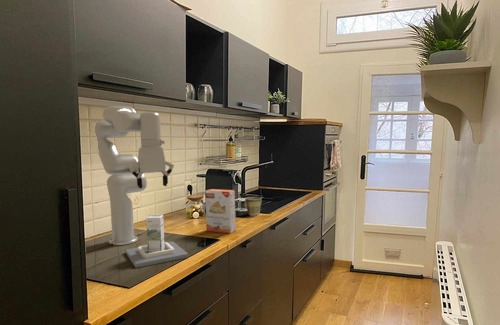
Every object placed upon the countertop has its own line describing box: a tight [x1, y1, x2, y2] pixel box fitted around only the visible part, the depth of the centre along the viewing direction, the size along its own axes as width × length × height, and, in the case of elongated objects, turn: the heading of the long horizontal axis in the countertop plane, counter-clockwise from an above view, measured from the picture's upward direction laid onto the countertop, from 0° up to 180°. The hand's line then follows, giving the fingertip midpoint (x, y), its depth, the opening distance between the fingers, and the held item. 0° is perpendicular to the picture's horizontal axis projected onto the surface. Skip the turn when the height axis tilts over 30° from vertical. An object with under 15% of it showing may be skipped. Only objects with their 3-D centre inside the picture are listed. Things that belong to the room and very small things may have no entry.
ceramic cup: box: [245, 196, 263, 217], centre depth 209 cm, size 13×10×10 cm
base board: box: [125, 241, 189, 269], centre depth 137 cm, size 20×20×3 cm
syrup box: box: [145, 214, 165, 253], centre depth 137 cm, size 6×6×14 cm
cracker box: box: [204, 188, 237, 235], centre depth 171 cm, size 14×6×21 cm, turn 65°
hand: (152, 186), depth 136 cm, fingers open, 9 cm apart
